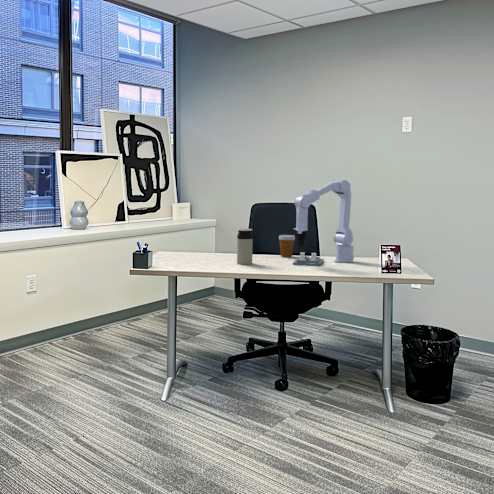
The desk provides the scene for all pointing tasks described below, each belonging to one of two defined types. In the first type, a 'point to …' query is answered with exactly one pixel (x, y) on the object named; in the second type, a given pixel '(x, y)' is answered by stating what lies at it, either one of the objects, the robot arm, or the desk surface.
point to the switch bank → (308, 261)
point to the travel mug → (244, 246)
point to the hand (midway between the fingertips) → (301, 246)
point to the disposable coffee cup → (286, 245)
